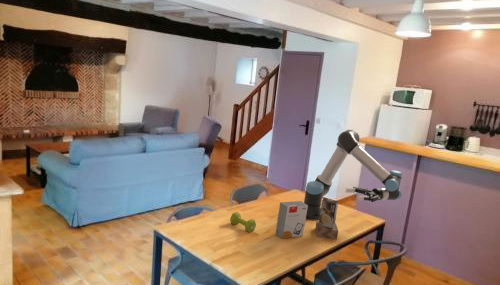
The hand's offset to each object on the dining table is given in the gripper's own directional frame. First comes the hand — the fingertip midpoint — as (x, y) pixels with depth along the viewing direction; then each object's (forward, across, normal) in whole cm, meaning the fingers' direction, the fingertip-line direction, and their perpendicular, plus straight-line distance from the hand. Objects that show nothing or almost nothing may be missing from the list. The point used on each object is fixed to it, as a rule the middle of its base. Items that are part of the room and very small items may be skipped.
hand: (352, 194), depth 223 cm
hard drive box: (+40, 0, -26) cm, 48 cm away
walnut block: (+15, -2, -26) cm, 30 cm away
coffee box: (+16, -1, -20) cm, 25 cm away
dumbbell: (+66, +13, -27) cm, 72 cm away
